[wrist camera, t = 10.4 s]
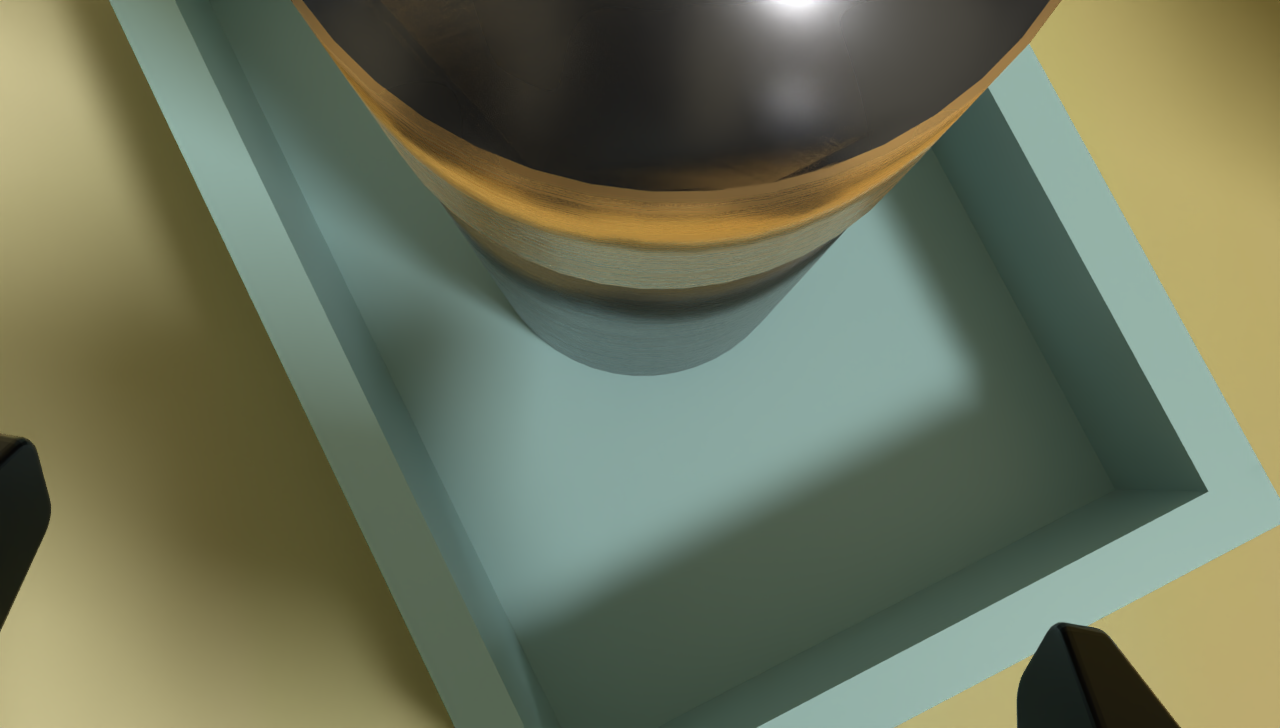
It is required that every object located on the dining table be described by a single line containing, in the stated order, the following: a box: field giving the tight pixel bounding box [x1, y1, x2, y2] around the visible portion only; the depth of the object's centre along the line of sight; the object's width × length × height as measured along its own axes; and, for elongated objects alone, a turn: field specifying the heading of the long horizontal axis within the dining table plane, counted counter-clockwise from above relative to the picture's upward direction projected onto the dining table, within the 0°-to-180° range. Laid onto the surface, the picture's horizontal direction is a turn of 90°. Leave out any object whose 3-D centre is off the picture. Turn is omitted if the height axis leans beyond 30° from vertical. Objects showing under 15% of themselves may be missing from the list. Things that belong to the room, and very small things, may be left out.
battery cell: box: [291, 0, 1061, 376], centre depth 12 cm, size 5×5×13 cm
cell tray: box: [109, 0, 1280, 728], centre depth 17 cm, size 16×11×4 cm
